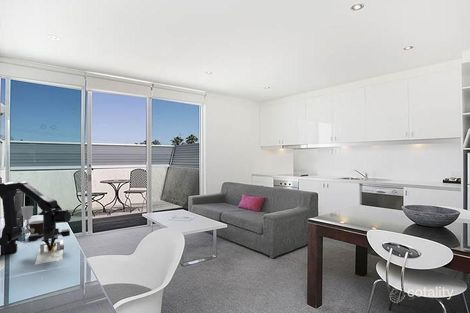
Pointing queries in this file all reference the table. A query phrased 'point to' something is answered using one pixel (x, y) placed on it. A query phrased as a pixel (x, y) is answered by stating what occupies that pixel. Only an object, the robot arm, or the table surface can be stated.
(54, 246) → the plug
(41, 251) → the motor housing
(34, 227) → the coffee mug
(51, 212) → the robot arm
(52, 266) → the table surface
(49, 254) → the mount plate
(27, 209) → the chalice
